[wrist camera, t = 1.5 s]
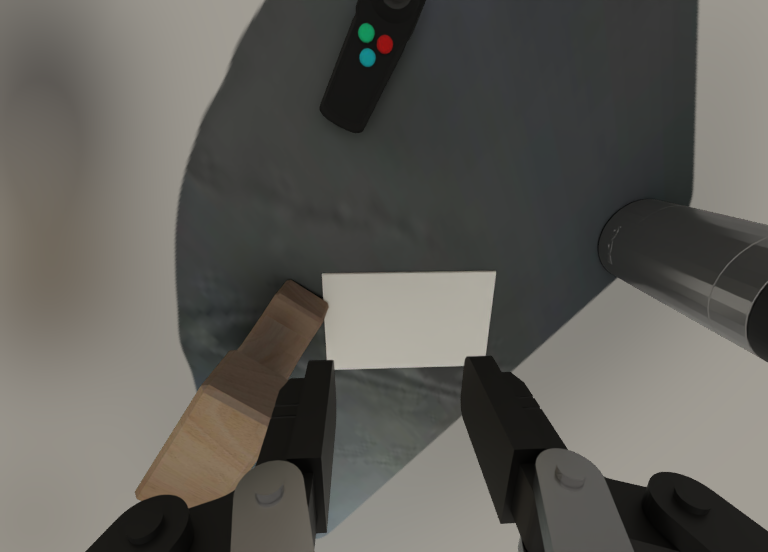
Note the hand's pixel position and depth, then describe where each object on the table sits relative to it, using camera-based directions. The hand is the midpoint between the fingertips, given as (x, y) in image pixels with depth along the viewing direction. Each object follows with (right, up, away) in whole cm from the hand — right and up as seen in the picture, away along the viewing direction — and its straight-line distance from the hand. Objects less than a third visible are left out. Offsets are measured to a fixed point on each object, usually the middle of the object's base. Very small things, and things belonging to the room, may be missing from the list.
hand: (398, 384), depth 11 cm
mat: (+2, -2, +32) cm, 33 cm away
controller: (-2, +23, +23) cm, 32 cm away
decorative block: (-12, -3, +32) cm, 34 cm away
